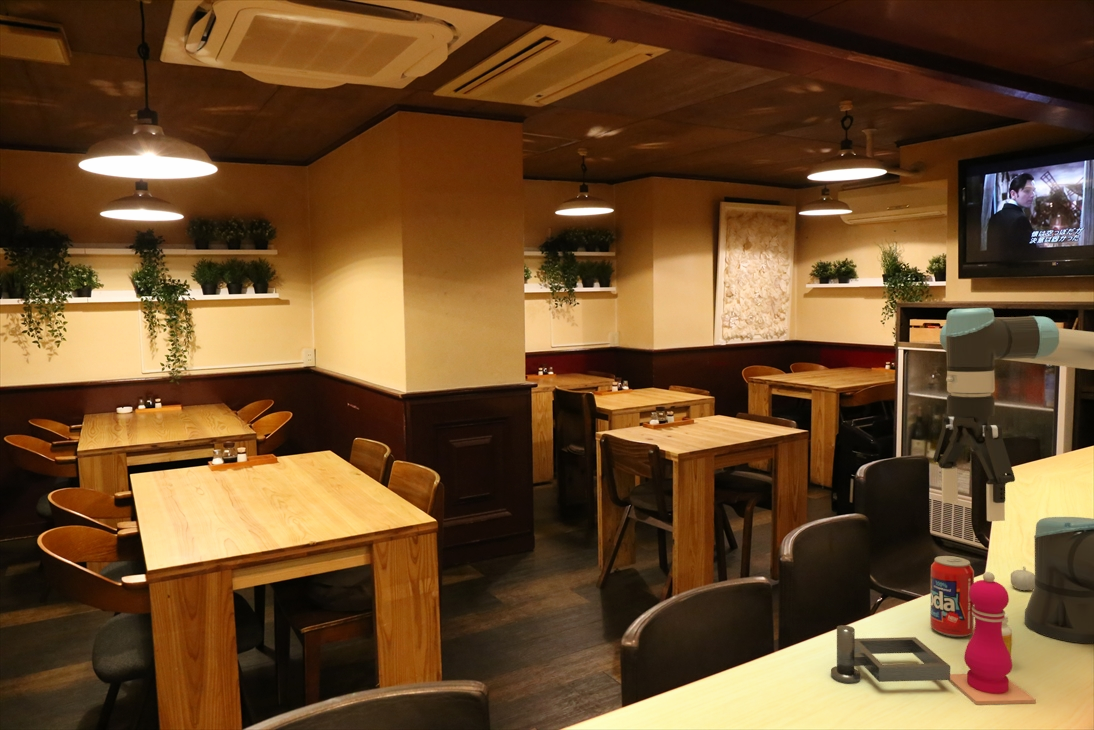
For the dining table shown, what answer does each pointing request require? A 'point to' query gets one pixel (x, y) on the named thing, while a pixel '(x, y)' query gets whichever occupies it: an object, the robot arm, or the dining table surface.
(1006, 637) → the supplement bottle
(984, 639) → the pepper mill
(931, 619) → the soda can
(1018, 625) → the dining table surface
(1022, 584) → the garlic
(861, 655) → the square frame with post
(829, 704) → the dining table surface
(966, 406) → the robot arm
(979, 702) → the terracotta tile
